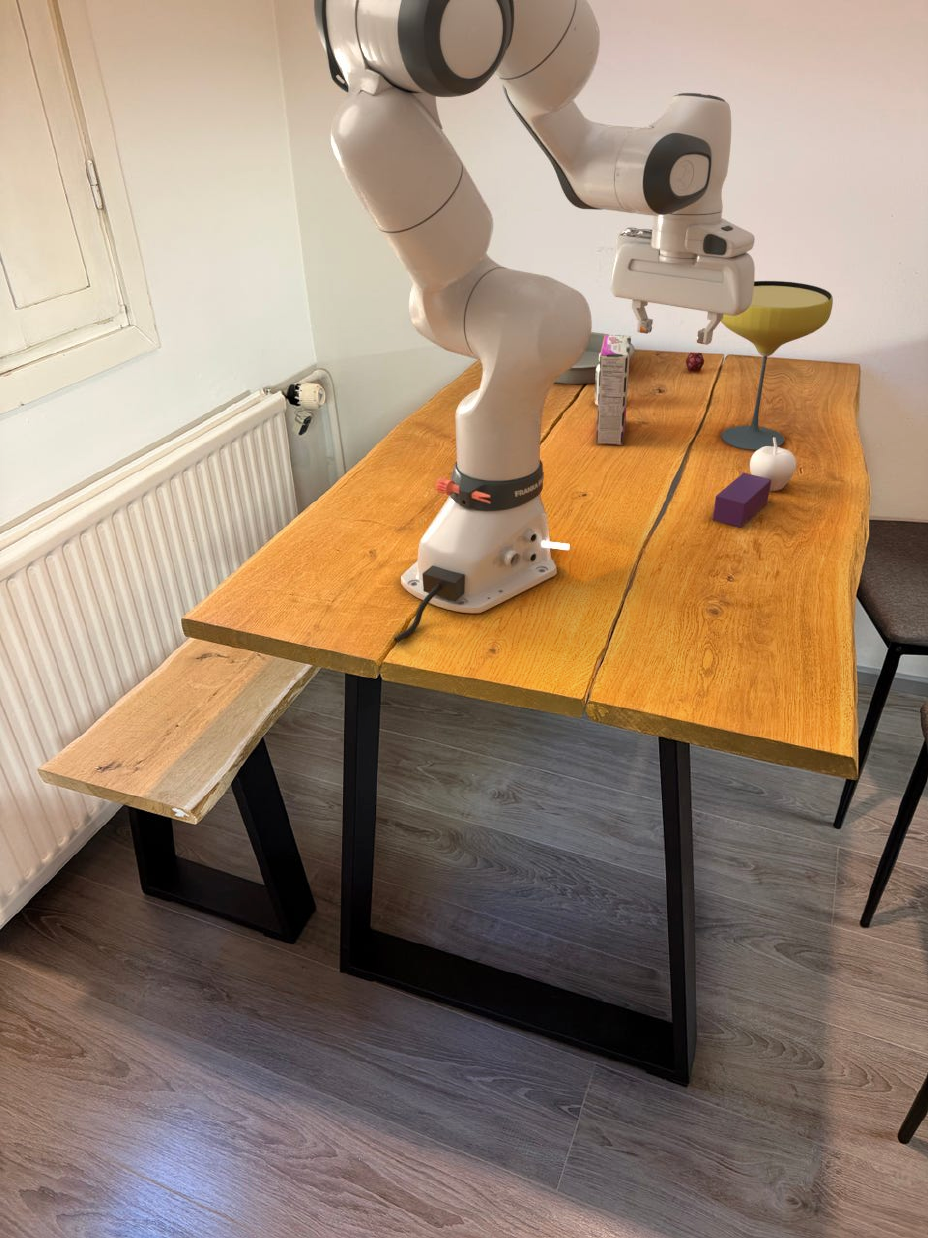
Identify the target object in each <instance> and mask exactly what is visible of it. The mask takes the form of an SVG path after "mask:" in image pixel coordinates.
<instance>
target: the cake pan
mask: <svg viewBox="0 0 928 1238" xmlns="http://www.w3.org/2000/svg"><path fill="white" fill-rule="evenodd" d="M605 335H610V334H608V333H603V332H594V331H591V336H590V340H589V343H588V346H587V348H586V350H585V352H584V354H583V355H582V357H581V358H580V360H579V361H578V362H577V363H576V364H575V365H574V366H573V367H572V368H571V369H569V370H568V371H566V372H565V373H563V374H562V375H561V376H559V377H558V378H557V380H556V381H555V382H554V384H555V383H557V384H565V385H588V384H595V382H596V368H597V366H598V365H599V364H600V361H599V354H600V353H601V350H602V346H603V341H604V336H605ZM635 351H636V348H635V346H634V345H633V344H632V343H631V346H630V358H631V357H632V356H633V355H634V353H635Z"/></svg>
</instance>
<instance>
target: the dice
mask: <svg viewBox="0 0 928 1238" xmlns="http://www.w3.org/2000/svg"><path fill="white" fill-rule="evenodd" d="M685 364H686V368H687V371H689V372H700V371H701V370H702V368H703V366H704V364H705V358H704V355H703V353H702V352H689V354H688V356H687V357H686V359H685Z"/></svg>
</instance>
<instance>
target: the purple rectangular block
mask: <svg viewBox="0 0 928 1238" xmlns="http://www.w3.org/2000/svg"><path fill="white" fill-rule="evenodd" d="M770 485H771V479H768V478H764V477H760V476H756V475H752V474H751V473H747V472H742V473H741V474H739V476H738V477H736V478H735V479H733V481H732V482H731V483H729V484H728V485H727V486H726V487H725V488H723V489H722V490H721V491H720V492H719V493H718V494H716V495H715V499H714V500H715V501H714V506H713V514H712V521H714V522H719V523H722V524H726V525H729V526H732V527H737V528H743V527H744V526H745V525H746V524H747V523H748V522H749V521H750V520H751V519H752V518H753V517H755V515H756V514H757V513H759V511H760V510H761V509H762V508H764V507H765V506H766V505H767V504H768V501H769V498H770V497H769V496H770V492H771V491H770Z"/></svg>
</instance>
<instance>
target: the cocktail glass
mask: <svg viewBox="0 0 928 1238" xmlns="http://www.w3.org/2000/svg"><path fill="white" fill-rule="evenodd" d="M833 304H834V298H833V295H832V293H831V292H830V291H828V290H827V289H824V288H822V287H819V286H816V285H813V284H812V285H811V284H808V283H802V282H794V281H783V280H781V281H780V280H756V281H755V280H754V290H753V298H752V303H751V305H750V307H749V308H748V309H747V310H746V311H745V312H743V313H741V314H739V315H736V316H732V315H726V314H723V319H722V320H721V321H720V323H721V324H722V325H723V326H724V327H726V328H727V329H728V330H730V331H731V332H732V333H734V334H736V335H738V336H739V337H742V338H744V339H745V340H747V341H749V342H750V343H751V344H753V346H754V347H755V349H756V351H757V353H758V354H759V355H760V356H762V363H761V368H760V369H761V370H760V377H759V381H758V388H757V394H756V400H755V406H754V410H753V415H752V419H751V422H750V425H737V426H732V427H729V428H726V429H724V430H723V431H722V433H721V434H720V437H721V440H722V441H723V442H724V443H725V444H727V445H728V446H731V447H734V448H737V449H742V450H746V451H747V450H748V451H757V450H758V449H760V448H762V447H765V446H772V447H774V443H773V438H776V443H777V447H781V446H782V445H783V444H784V443H785V437H784V436H783V435H782V433H780V432H779V431H777V430H774V429H771V428H768V427H764V426H759V417H760V416H759V414H760V407H761V406H760V405H761V398H762V394H763V393H762V392H763V385H764V379H765V374H766V367H767V359H768V357H770V356H772V355H773V354H774V353H775V352H776V351H777V350H778V349H779V348H780V347H782V346H783V345H785V344H788V343H790V342H792V341H795V340H800V339H802V338H804V337H806V336H809V335H810V334H813V333H815V332H816V331H818V330H819V329H821V328H822V327H824V326H825V325H826V324H827V323H828V321H829V319H830V317H831V314H832V310H833Z"/></svg>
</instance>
